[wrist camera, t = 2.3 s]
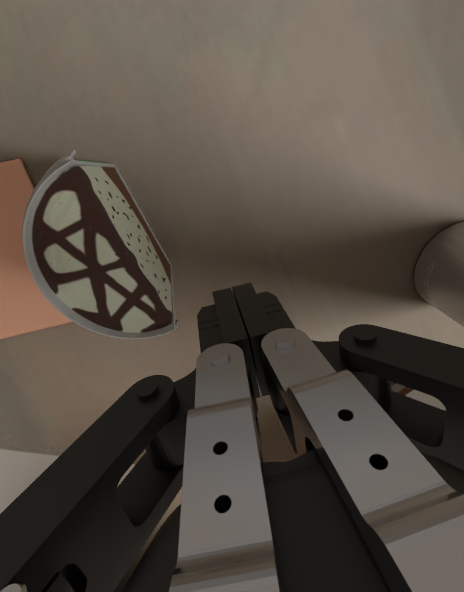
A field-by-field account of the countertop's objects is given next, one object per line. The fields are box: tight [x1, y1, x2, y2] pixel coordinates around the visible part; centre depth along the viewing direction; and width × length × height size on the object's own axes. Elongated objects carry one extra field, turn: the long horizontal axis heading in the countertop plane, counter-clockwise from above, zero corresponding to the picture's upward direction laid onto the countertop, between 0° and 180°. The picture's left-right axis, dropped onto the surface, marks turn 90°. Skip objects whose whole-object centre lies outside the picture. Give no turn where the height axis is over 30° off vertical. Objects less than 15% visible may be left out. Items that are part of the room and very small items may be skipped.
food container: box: [22, 149, 179, 339], centre depth 24 cm, size 12×6×10 cm, turn 23°
